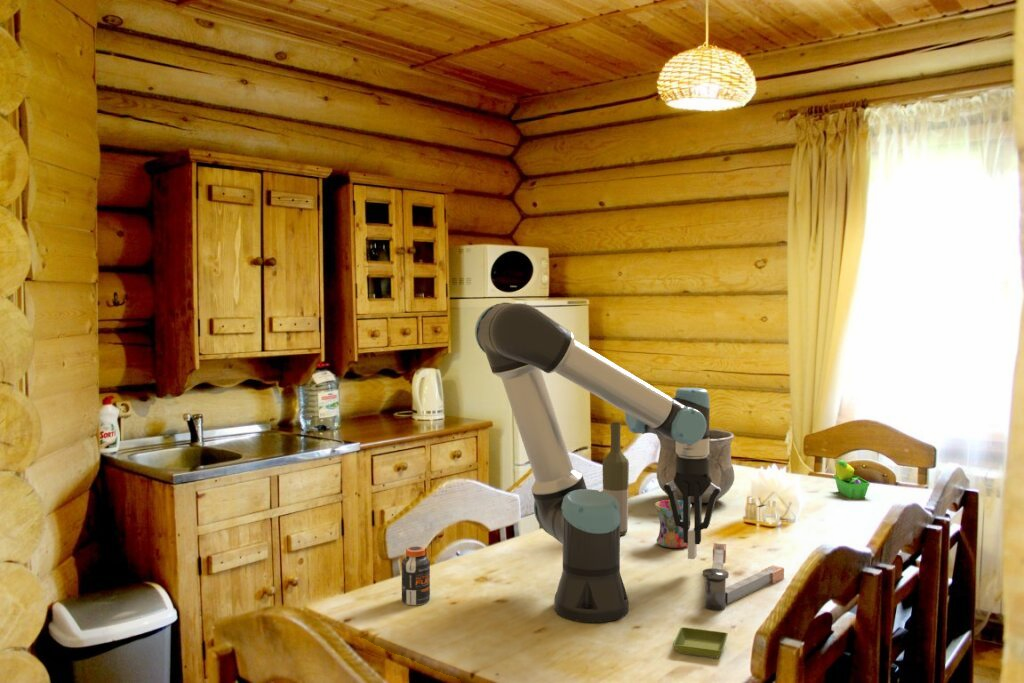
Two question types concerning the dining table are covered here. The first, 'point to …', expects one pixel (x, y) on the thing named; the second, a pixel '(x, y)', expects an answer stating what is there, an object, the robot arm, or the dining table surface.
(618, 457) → the bottle
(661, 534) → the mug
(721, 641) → the green tray
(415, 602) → the pill bottle
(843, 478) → the fruit basket
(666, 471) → the pot
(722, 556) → the tong arm
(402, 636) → the dining table surface
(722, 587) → the base
